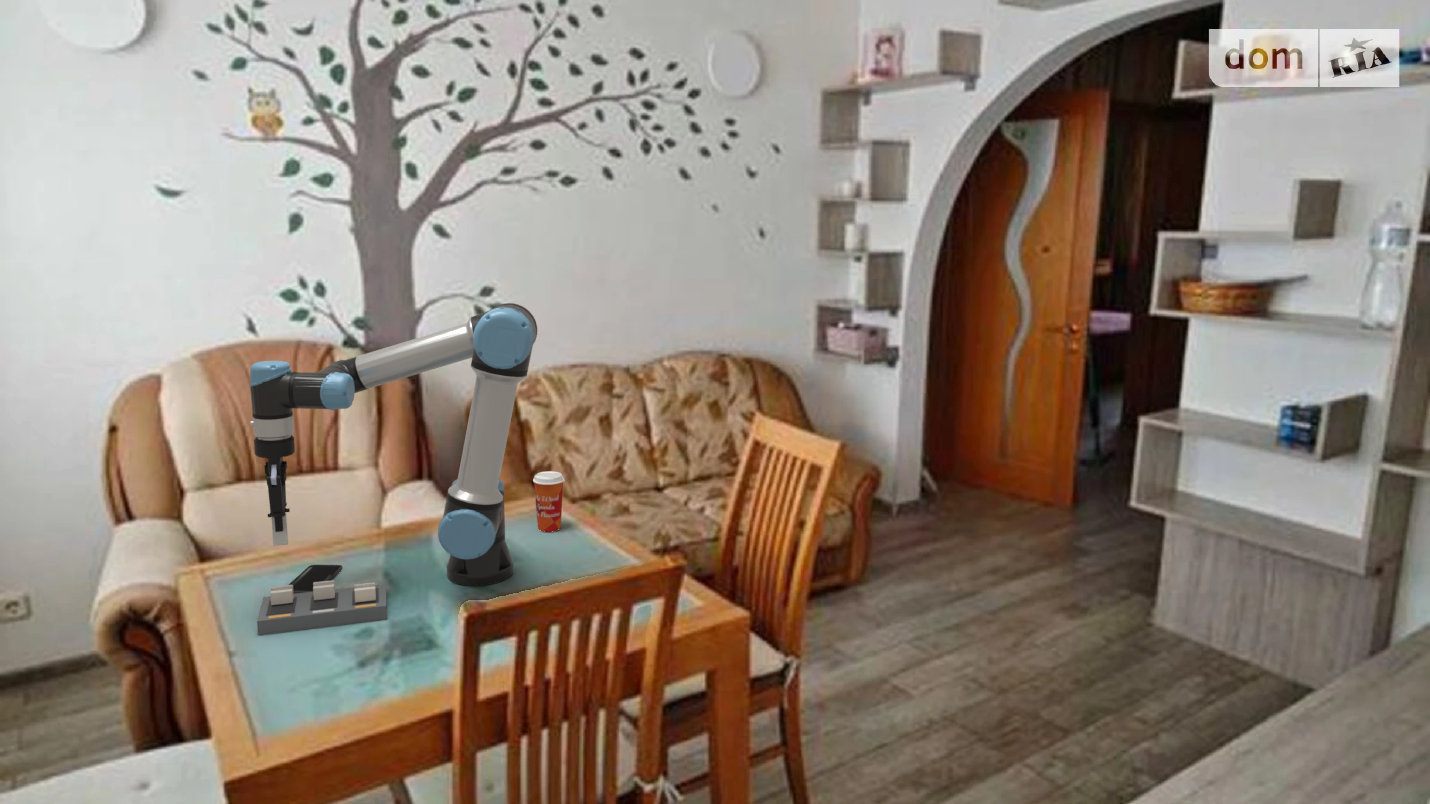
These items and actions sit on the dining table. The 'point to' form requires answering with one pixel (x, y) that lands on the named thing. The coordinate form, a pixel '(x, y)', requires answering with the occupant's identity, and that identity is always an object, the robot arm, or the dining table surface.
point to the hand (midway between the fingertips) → (280, 544)
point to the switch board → (320, 611)
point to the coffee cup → (548, 500)
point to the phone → (314, 577)
